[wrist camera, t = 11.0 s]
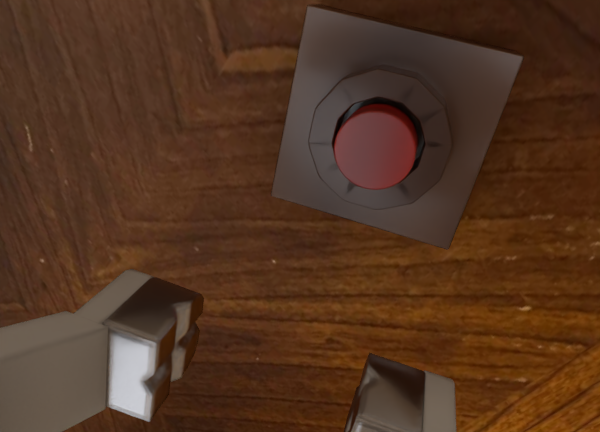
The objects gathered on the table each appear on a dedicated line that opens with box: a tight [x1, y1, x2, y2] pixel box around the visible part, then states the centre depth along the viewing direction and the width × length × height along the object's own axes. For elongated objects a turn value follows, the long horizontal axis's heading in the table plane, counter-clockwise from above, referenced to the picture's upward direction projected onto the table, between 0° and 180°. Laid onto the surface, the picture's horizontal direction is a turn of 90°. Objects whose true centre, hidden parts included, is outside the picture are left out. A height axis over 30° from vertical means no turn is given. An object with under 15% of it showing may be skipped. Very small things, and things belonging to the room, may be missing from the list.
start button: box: [334, 103, 418, 190], centre depth 22 cm, size 4×4×2 cm
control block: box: [271, 4, 524, 249], centre depth 24 cm, size 10×10×4 cm
